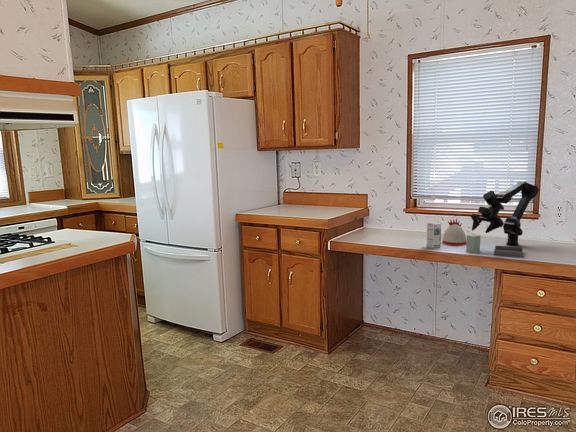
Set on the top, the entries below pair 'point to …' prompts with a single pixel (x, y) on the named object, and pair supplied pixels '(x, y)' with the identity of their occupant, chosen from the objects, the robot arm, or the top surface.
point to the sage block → (473, 243)
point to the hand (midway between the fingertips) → (478, 231)
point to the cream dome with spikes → (454, 234)
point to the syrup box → (434, 234)
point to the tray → (508, 251)
